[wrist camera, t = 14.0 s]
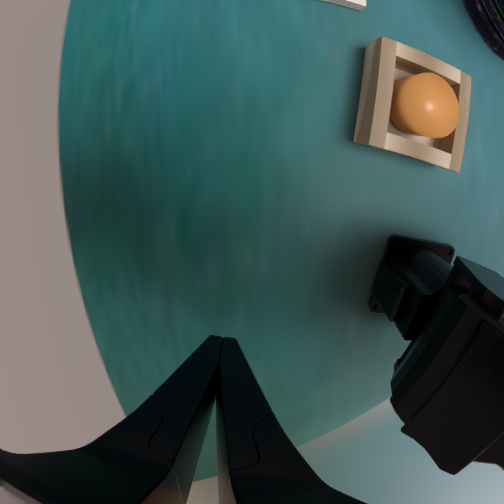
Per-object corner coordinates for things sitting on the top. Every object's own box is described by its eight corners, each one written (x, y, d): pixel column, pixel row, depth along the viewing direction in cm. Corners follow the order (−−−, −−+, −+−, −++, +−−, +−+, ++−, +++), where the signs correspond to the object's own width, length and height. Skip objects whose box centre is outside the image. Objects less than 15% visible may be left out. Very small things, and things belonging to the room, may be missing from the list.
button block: (448, 80, 15) (471, 76, 12) (436, 166, 18) (459, 173, 15) (365, 47, 15) (381, 36, 12) (353, 142, 18) (368, 144, 15)
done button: (437, 89, 15) (461, 87, 12) (430, 142, 17) (454, 146, 14) (388, 70, 15) (409, 62, 12) (381, 126, 16) (402, 126, 14)
